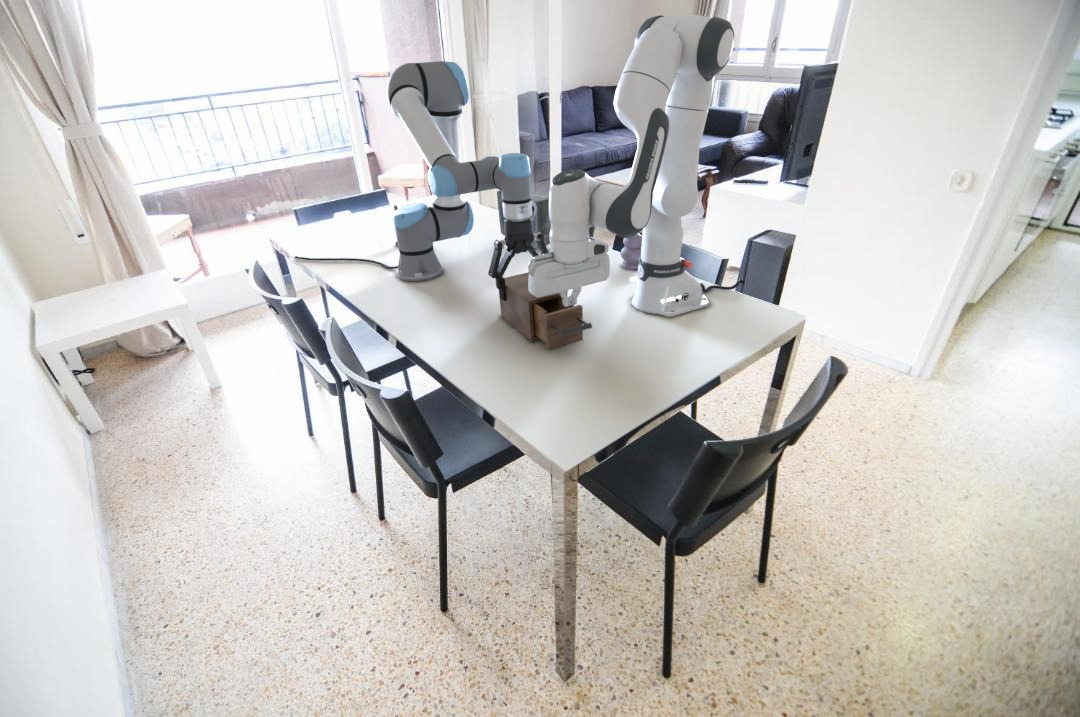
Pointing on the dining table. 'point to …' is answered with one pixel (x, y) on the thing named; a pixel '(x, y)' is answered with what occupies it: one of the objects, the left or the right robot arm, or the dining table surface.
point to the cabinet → (521, 304)
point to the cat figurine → (631, 252)
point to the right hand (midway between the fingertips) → (569, 304)
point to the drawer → (558, 323)
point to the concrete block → (538, 216)
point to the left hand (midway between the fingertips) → (522, 294)
